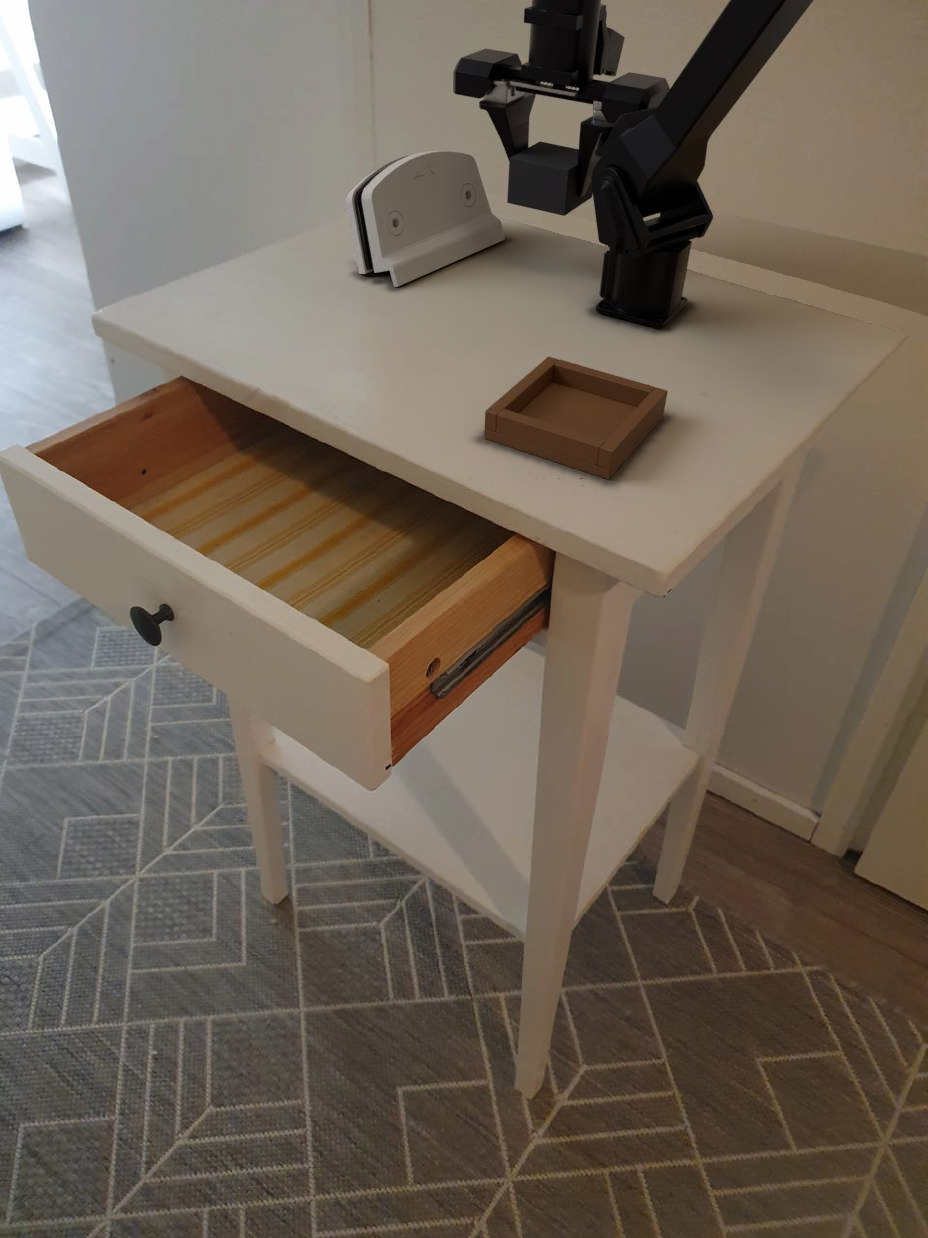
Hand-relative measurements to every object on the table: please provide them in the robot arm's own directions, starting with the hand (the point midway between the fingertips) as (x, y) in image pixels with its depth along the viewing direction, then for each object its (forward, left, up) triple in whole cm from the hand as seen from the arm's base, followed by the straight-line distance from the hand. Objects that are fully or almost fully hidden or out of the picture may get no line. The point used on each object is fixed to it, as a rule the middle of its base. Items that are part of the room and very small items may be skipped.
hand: (551, 188), depth 91 cm
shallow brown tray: (-16, +27, -7) cm, 32 cm away
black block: (0, 0, -1) cm, 1 cm away
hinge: (+11, +5, -7) cm, 14 cm away
